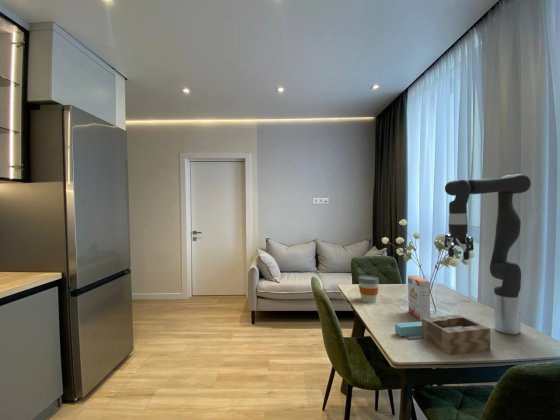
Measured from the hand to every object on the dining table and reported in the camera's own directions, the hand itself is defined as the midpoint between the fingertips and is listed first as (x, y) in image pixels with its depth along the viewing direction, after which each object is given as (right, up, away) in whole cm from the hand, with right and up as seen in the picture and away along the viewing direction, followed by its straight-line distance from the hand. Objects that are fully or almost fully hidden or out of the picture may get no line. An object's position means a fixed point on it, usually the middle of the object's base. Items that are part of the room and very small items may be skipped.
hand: (458, 258), depth 133 cm
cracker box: (-6, -36, +25) cm, 45 cm away
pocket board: (-6, -36, -7) cm, 37 cm away
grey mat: (-20, -36, +2) cm, 42 cm away
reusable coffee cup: (-25, -36, +52) cm, 69 cm away
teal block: (-21, -36, +2) cm, 41 cm away
